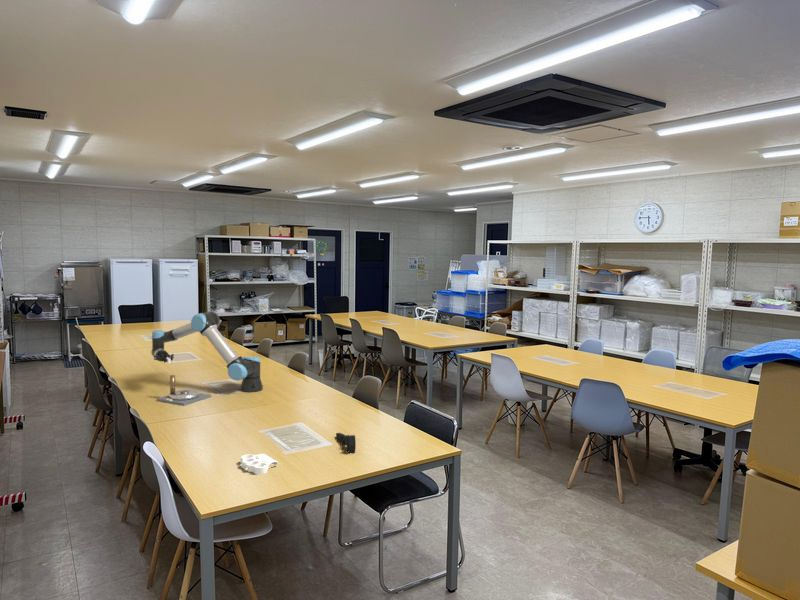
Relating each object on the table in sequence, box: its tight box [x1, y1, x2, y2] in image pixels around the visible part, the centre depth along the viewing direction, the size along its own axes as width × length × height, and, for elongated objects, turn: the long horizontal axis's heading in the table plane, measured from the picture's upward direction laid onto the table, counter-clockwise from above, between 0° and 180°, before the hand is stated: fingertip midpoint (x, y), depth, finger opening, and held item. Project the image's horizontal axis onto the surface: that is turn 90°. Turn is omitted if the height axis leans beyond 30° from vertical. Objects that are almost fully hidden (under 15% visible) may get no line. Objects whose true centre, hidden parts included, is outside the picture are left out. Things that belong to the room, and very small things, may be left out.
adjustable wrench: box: [335, 432, 357, 454], centre depth 265 cm, size 8×3×25 cm
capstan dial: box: [168, 374, 200, 400], centre depth 341 cm, size 18×18×14 cm
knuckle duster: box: [238, 453, 279, 475], centre depth 237 cm, size 3×18×15 cm
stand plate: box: [156, 392, 212, 407], centre depth 342 cm, size 23×23×2 cm
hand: (169, 361), depth 344 cm, fingers closed
